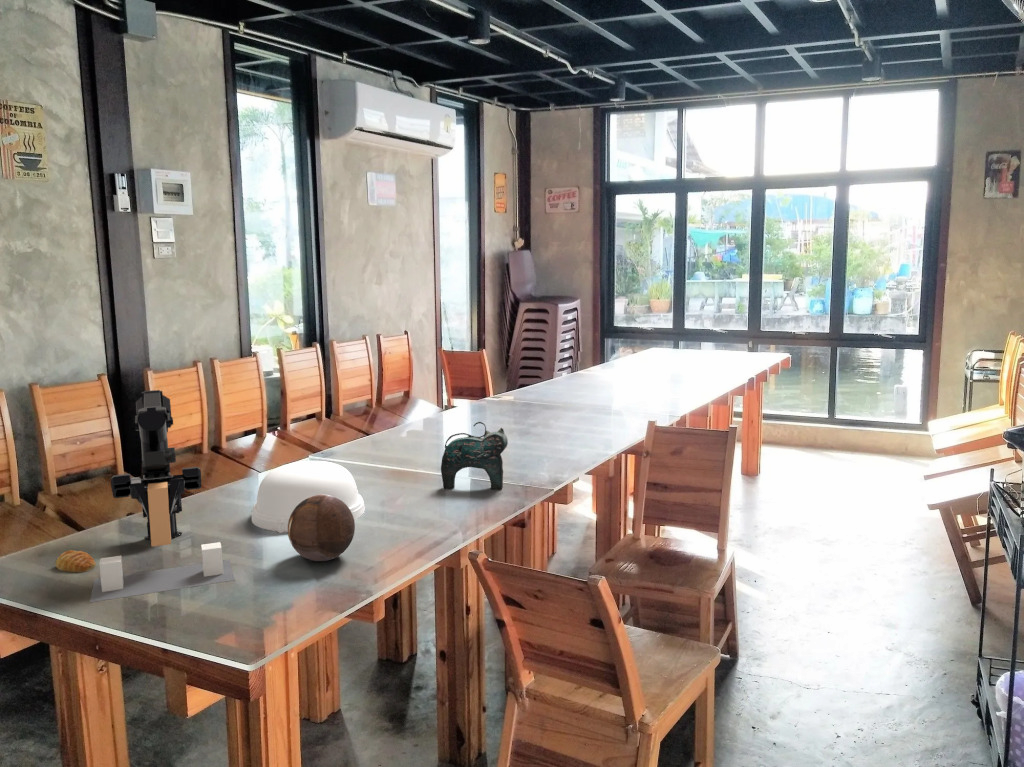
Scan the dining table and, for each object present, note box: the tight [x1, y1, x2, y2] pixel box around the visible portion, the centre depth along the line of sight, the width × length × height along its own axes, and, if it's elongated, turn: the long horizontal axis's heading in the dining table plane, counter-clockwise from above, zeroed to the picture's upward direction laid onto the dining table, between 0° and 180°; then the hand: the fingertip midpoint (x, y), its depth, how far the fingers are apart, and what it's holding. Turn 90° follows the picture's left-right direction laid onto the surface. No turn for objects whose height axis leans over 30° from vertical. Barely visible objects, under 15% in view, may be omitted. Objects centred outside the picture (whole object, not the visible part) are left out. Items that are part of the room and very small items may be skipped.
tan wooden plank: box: [148, 482, 172, 547], centre depth 191 cm, size 5×4×13 cm
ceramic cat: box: [440, 421, 509, 490], centre depth 254 cm, size 20×6×20 cm, turn 84°
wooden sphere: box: [287, 495, 356, 562], centre depth 196 cm, size 15×15×15 cm
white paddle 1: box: [98, 555, 124, 592], centre depth 180 cm, size 4×4×6 cm
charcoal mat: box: [89, 559, 235, 603], centre depth 185 cm, size 14×28×1 cm, turn 112°
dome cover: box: [251, 460, 366, 534], centre depth 231 cm, size 32×30×14 cm
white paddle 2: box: [200, 541, 223, 577], centre depth 188 cm, size 4×4×6 cm
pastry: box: [54, 549, 97, 573], centre depth 194 cm, size 9×7×4 cm
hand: (159, 514), depth 189 cm, fingers closed on tan wooden plank, 4 cm apart
